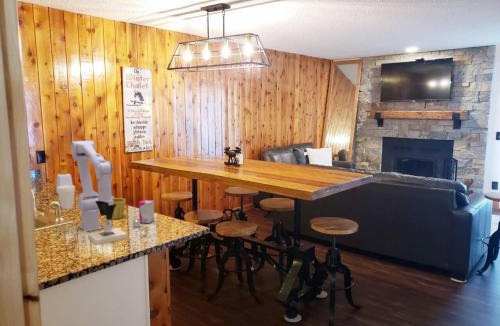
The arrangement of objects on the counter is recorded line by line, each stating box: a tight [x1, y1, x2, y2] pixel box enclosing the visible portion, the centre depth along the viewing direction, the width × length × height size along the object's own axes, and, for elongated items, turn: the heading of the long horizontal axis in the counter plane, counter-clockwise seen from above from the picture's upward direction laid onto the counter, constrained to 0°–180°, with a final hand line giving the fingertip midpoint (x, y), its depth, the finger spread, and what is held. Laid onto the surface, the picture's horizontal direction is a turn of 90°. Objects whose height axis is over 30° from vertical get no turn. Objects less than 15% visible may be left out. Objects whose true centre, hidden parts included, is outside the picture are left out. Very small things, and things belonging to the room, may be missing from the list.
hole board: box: [87, 227, 128, 245], centre depth 178 cm, size 12×14×2 cm
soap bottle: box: [55, 162, 73, 195], centre depth 266 cm, size 10×14×22 cm
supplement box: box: [138, 199, 155, 225], centre depth 202 cm, size 6×6×12 cm
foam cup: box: [56, 185, 76, 210], centre depth 229 cm, size 10×9×13 cm
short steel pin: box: [132, 218, 141, 229], centre depth 194 cm, size 4×4×4 cm
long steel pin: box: [103, 219, 113, 236], centre depth 178 cm, size 4×4×8 cm
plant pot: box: [111, 197, 126, 220], centre depth 210 cm, size 10×10×10 cm
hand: (106, 217), depth 177 cm, fingers open, 7 cm apart
